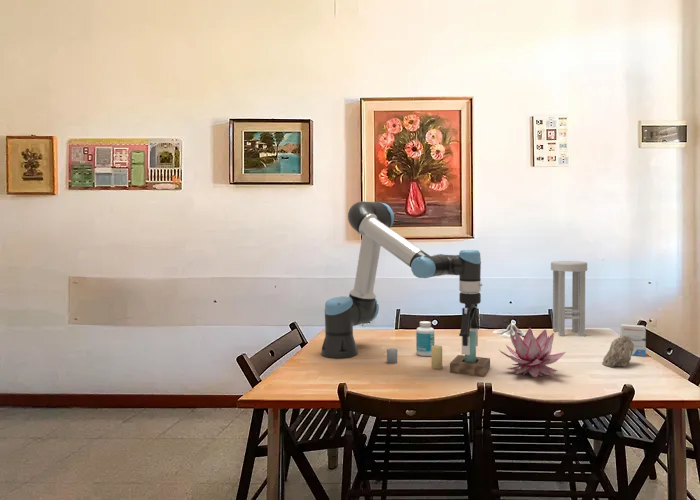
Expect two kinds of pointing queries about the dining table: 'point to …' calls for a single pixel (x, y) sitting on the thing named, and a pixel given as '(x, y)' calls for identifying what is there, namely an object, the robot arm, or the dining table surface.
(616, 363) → the rock
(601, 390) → the dining table surface
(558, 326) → the stool
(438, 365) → the medium pin
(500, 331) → the cloth
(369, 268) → the robot arm
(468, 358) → the long pin
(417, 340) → the pill bottle
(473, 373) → the socket block
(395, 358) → the short pin
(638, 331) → the ink box
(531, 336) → the decorative flower
